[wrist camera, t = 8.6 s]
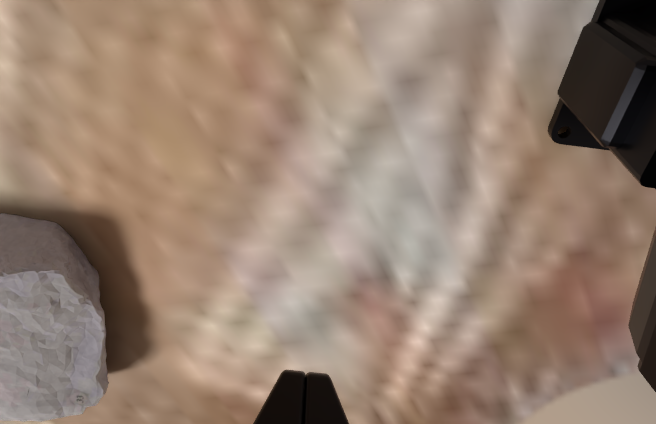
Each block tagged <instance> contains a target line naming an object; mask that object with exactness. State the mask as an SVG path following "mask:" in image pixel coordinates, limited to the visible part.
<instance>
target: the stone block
mask: <svg viewBox="0 0 656 424" xmlns="http://www.w3.org/2000/svg"><path fill="white" fill-rule="evenodd" d="M105 338H106V328H105V316H104V310H103V309H102V307H101V304H100V291H99V275H98V271H97V270H96V269H95V268H94V267H93V266H92V265H91V264H90V262H89V261H88V259H87V258H86V256H85V255H84V253H83V252H82V250H81V249H80V248H79V247H78V246H77V244H76V243H75V241H74V240H73V238H72V237H71V236H70V235H69V234H68V233H67V232H66V231H65V230H64V229H63V228H62V227H61V226H60V225H58V224H57V223H55V222H50V221H46V220H37V219H32V218H27V217H22V216H18V215H10V214H5V213H1V214H0V420H4V421H11V420H16V421H24V422H25V421H46V420H51V419H56V418H62V417H67V416H71V415H79V414H83V412H84V410H85V409H86V407H90V406H95V405H97V404H98V402H99V401H100V399H101V398H102V396H103V395H104V394H105V393H106V390H107V387H108V383H109V382H108V377H107V367H106V357H107V354H106V348H105Z"/></svg>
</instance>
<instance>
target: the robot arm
mask: <svg viewBox="0 0 656 424" xmlns="http://www.w3.org/2000/svg"><path fill="white" fill-rule="evenodd" d="M558 95H559V97H560V99H559V102H558V104H557V107H556V109H555V112H554V114H553V116H552V119H551V121H550V124H549V126H548V134H549V136H550V137H551V138H552V140H553V141H554V142H556V143H558V144H564V145H572V146H580V147H588V148H596V149H604V150H611V152H612V153H613V154H614V155H615V156H616V157H617V158H618V159H619V161H620V162H621V163H622V164H623V165H624V166H625V167H626V168H627V169H628V171H629V172H630V173H631V174H632V175H633V176H634V177H635V178H636V180H637V181H638V182H639V183H640V184H641V185H642V186H645V187H650V188H655V189H656V0H600V1H599V3H598V5H597V8H596V10H595V13H594V15H593V18H592V20H591V22H590V23H588V24H587V25H586V26H584V27H583V29H582V32H581V34H580V37H579V39H578V42H577V44H576V47H575V49H574V52H573V54H572V57H571V59H570V62H569V64H568V67H567V69H566V72H565V74H564V77H563V79H562V82H561V84H560V87H559V89H558ZM564 126H568V128H567V130H566V131H565V132H563V133H561V134H558V131H559V129H560V128H562V127H564ZM628 326H629V329H630V332H631V336H632V339H633V343H634V346H635V350H636V353H637V355H638V356H639V358H640V360H639V363H638V368H639V371H640V372H641V374H642V375H643V376H644V378H645V379H646V380H647V382H648V383H649V384H650V385H651V387H652V388H653V389H654V391H655V392H656V228H655V231H654V234H653V238H652V241H651V244H650V248H649V251H648V255H647V258H646V261H645V265H644V268H643V271H642V275H641V278H640V281H639V285H638V288H637V291H636V295H635V298H634V301H633V306H632V311H631V316H630V320H629V325H628ZM253 424H349V423H348V420H347V418H346V415H345V413H344V410H343V408H342V405H341V403H340V400H339V398H338V395H337V393H336V390H335V388H334V385H333V383H332V380H331V378H330V377H329V375H327V374H324V373H314V372H309V373H307V374H306V375H305V373H304V372H302V371H294V370H284V371H283V372H282V373H281V375H280V376H279V378H278V380H277V382H276V384H275V385H274V387H273V389H272V391H271V393H270V394H269V396H268V398H267V400H266V402H265V403H264V405H263V407H262V409H261V411H260V412H259V414H258V416H257V418H256V420H255V421H254V423H253Z"/></svg>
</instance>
